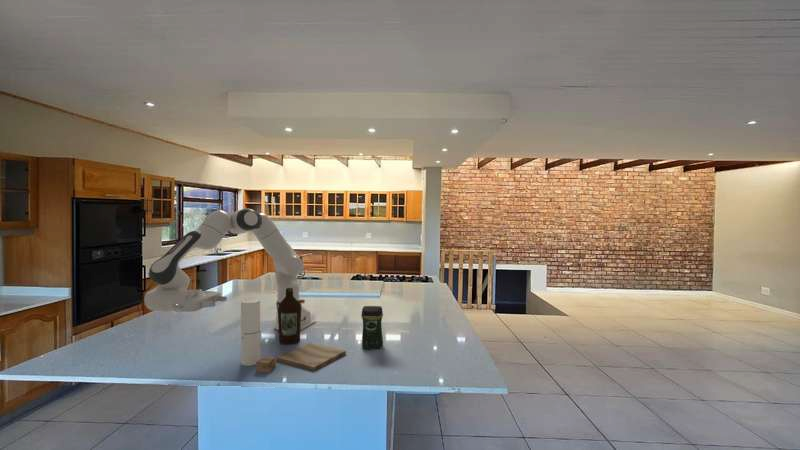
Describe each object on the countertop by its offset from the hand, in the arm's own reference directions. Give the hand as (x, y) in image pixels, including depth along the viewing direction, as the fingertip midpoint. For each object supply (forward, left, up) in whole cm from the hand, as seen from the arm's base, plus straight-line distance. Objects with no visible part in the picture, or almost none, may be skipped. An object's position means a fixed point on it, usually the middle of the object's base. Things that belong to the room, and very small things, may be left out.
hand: (220, 301), depth 154 cm
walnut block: (-4, +22, -25) cm, 33 cm away
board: (-22, +29, -25) cm, 44 cm away
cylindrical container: (-6, +11, -25) cm, 28 cm away
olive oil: (-32, +6, -25) cm, 41 cm away
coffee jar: (-45, +44, -25) cm, 67 cm away
